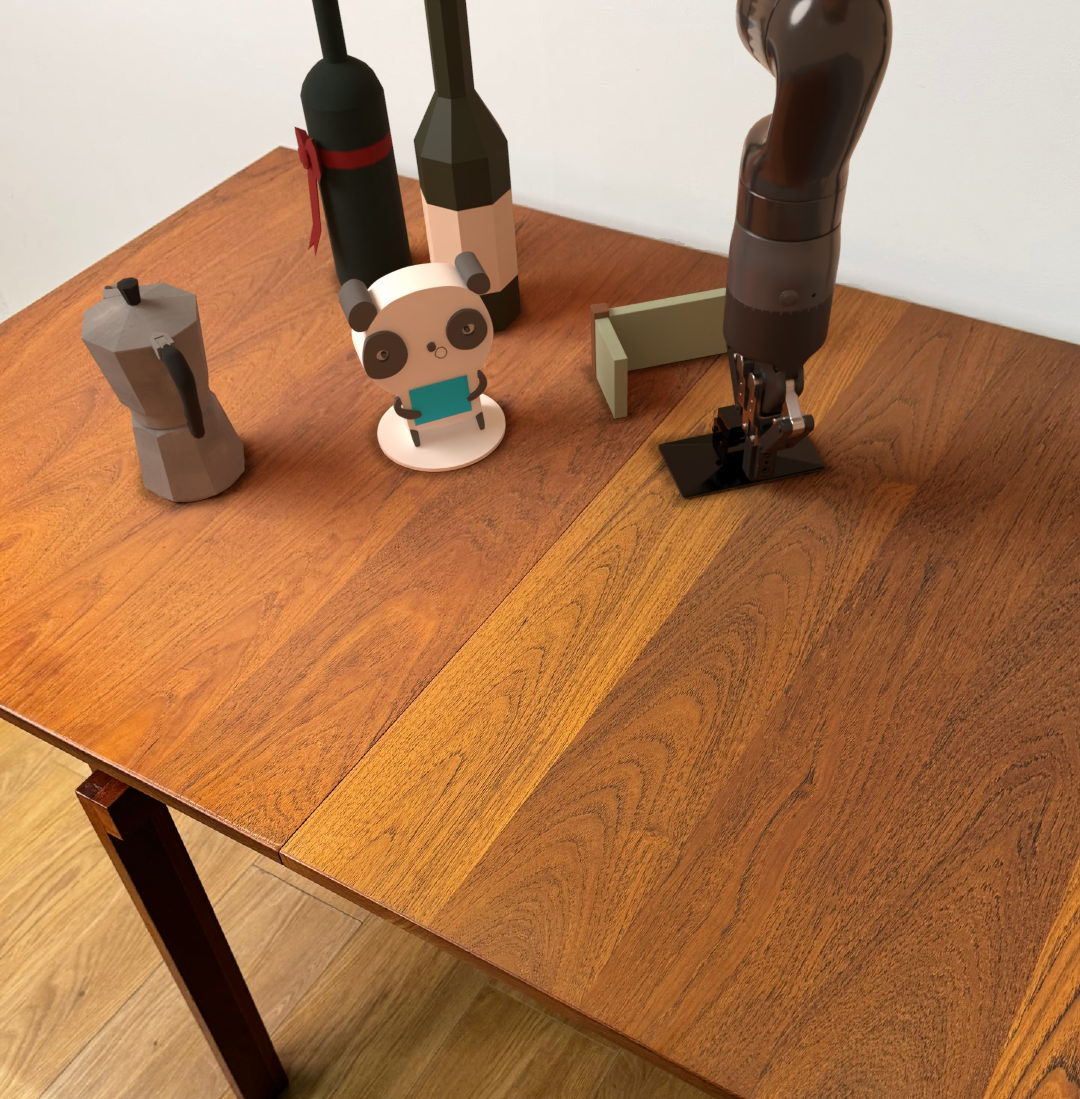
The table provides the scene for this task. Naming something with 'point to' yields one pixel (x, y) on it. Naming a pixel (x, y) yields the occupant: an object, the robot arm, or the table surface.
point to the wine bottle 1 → (351, 159)
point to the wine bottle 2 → (466, 167)
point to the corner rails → (652, 338)
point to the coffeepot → (164, 388)
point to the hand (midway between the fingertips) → (757, 473)
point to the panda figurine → (428, 361)
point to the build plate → (728, 458)
